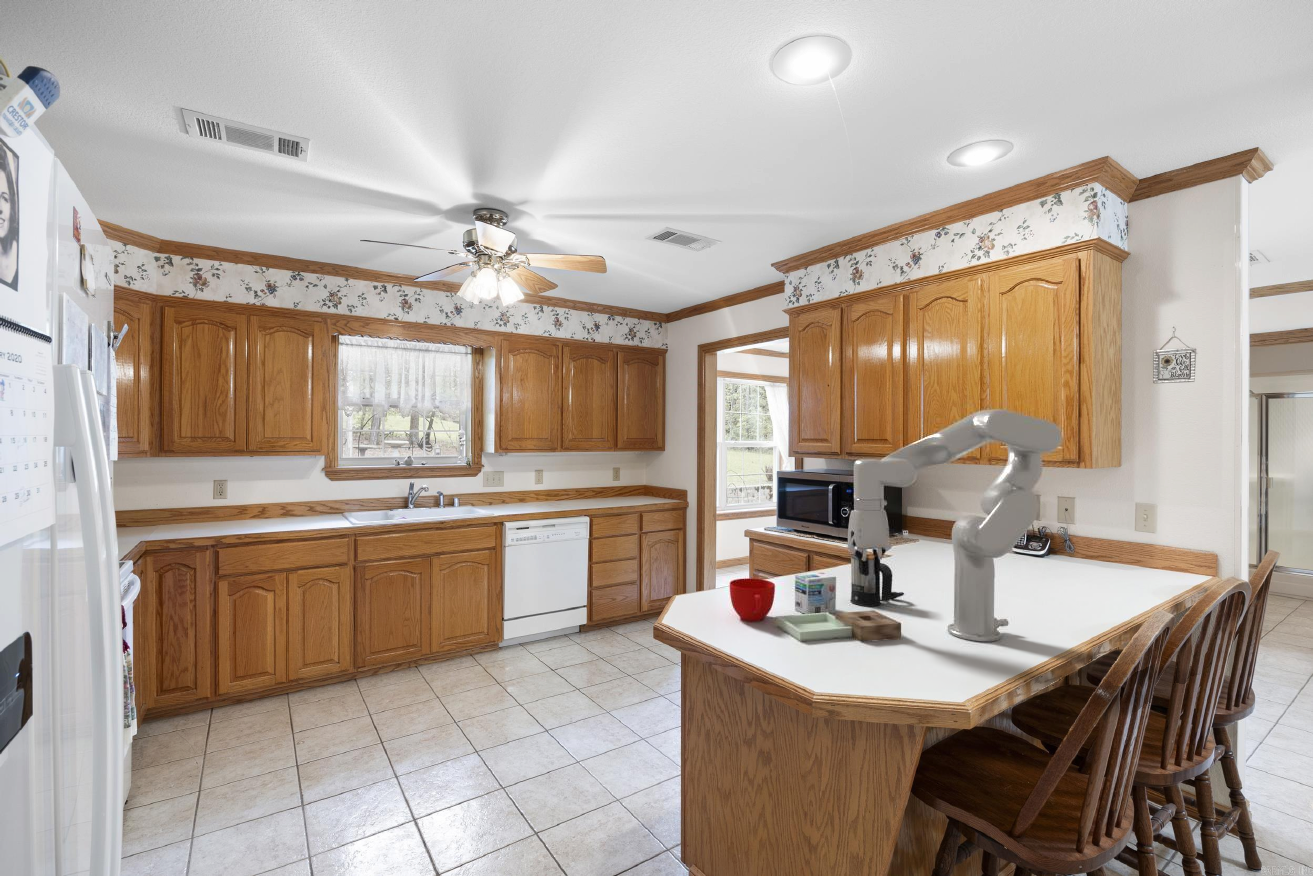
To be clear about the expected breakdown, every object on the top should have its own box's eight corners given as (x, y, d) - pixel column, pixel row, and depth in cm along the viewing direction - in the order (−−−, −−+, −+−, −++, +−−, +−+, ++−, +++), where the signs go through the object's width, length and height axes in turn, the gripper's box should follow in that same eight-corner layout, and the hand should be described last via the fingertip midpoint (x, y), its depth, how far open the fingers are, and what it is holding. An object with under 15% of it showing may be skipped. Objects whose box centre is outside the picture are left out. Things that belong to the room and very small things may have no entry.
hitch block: (873, 624, 173) (873, 610, 173) (901, 638, 161) (901, 623, 161) (835, 627, 170) (835, 613, 170) (860, 642, 158) (860, 626, 158)
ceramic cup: (735, 629, 168) (735, 592, 167) (726, 611, 184) (726, 578, 184) (782, 629, 168) (782, 592, 168) (769, 611, 185) (769, 578, 185)
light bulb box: (807, 616, 181) (808, 579, 181) (793, 610, 187) (794, 574, 187) (836, 612, 185) (837, 576, 185) (822, 606, 191) (822, 571, 191)
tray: (826, 621, 176) (826, 612, 176) (855, 636, 162) (855, 627, 162) (775, 625, 171) (775, 616, 171) (800, 642, 158) (800, 632, 158)
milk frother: (844, 603, 195) (845, 556, 195) (864, 593, 207) (865, 549, 207) (890, 612, 186) (890, 562, 185) (908, 601, 198) (908, 555, 197)
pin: (871, 590, 167) (870, 553, 167) (877, 592, 164) (877, 555, 164) (862, 591, 166) (861, 553, 166) (868, 593, 164) (867, 555, 164)
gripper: (886, 502, 171) (887, 569, 171) (834, 505, 167) (834, 573, 167) (904, 505, 164) (904, 575, 164) (849, 508, 159) (850, 579, 160)
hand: (869, 573), depth 165 cm, fingers closed on pin, 2 cm apart
